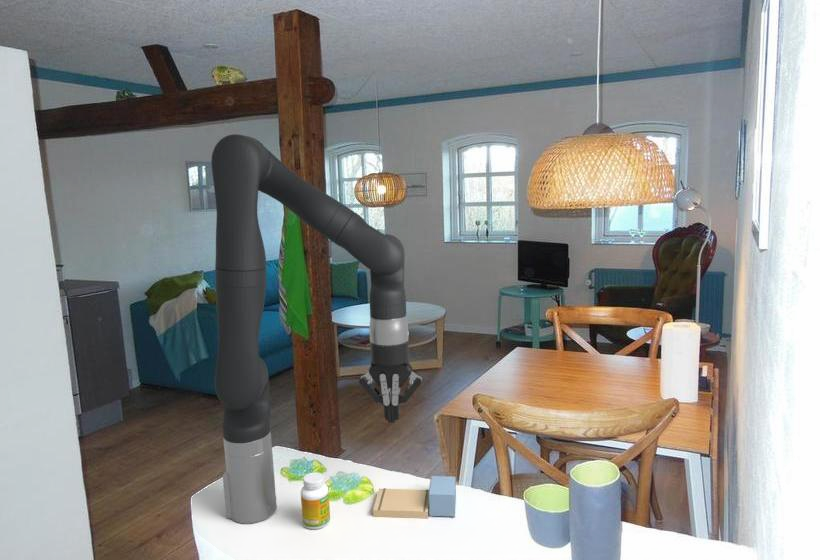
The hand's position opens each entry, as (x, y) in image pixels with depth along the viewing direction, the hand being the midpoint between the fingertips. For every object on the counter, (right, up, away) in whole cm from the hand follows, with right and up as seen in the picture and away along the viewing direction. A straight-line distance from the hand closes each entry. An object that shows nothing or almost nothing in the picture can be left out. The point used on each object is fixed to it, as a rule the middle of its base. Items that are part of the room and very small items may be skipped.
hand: (392, 421), depth 119 cm
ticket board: (+2, -18, +3) cm, 19 cm away
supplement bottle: (-15, -20, -1) cm, 25 cm away
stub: (+10, -18, +2) cm, 21 cm away
